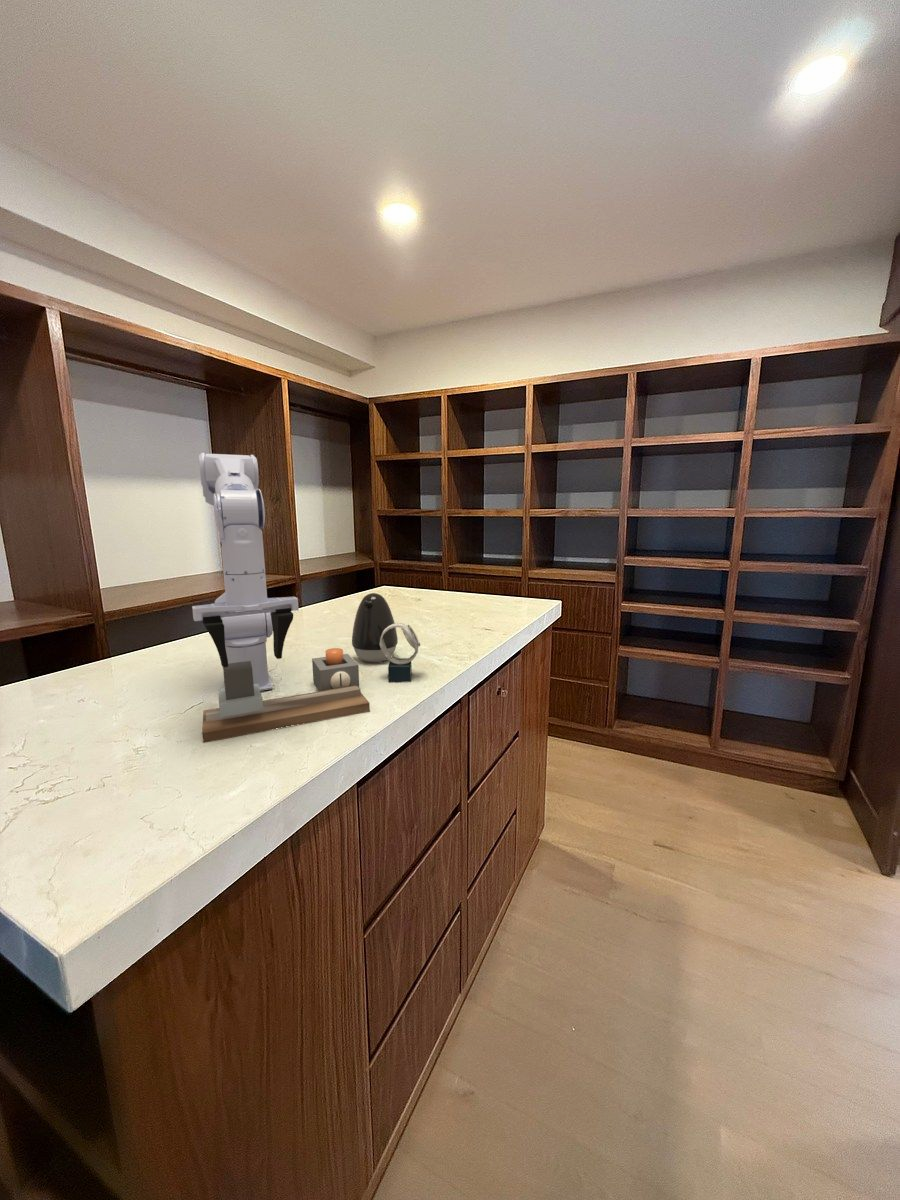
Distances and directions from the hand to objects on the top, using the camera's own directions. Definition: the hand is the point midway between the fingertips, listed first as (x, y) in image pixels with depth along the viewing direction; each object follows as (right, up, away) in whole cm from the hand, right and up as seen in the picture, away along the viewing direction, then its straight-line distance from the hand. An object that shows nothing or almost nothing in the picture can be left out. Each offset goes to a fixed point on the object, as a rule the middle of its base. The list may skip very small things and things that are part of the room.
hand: (252, 661), depth 73 cm
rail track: (+4, -10, +6) cm, 12 cm away
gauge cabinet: (+8, -7, +19) cm, 22 cm away
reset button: (+8, -2, +18) cm, 20 cm away
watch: (+20, -6, +24) cm, 32 cm away
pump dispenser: (+13, -4, +36) cm, 38 cm away
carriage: (-3, -7, +2) cm, 8 cm away
